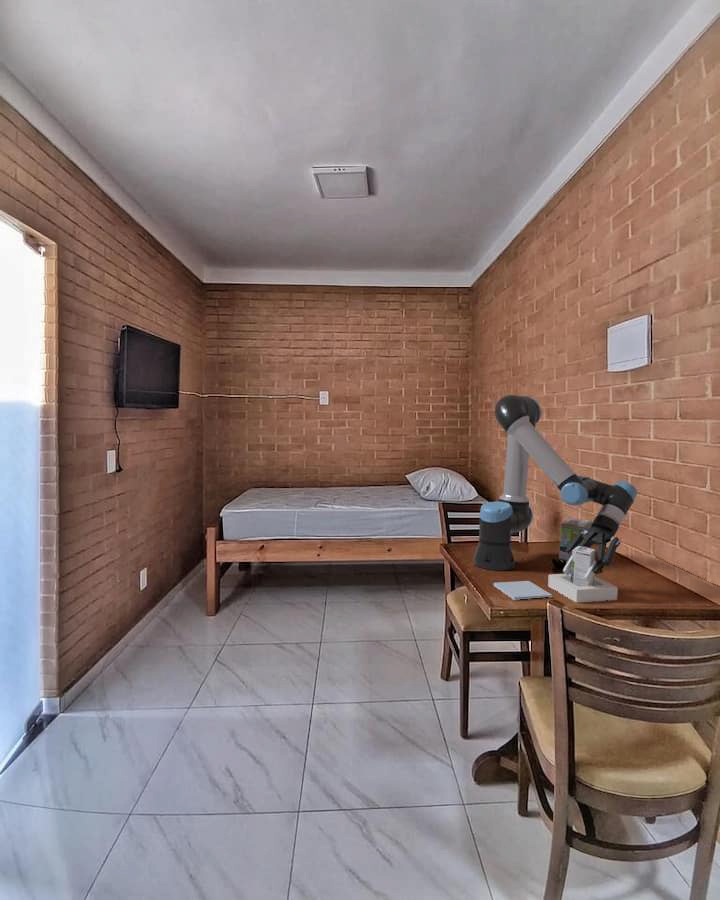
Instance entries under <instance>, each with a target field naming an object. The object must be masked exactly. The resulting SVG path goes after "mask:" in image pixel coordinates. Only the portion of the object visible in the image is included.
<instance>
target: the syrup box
mask: <svg viewBox="0 0 720 900" xmlns="http://www.w3.org/2000/svg"><path fill="white" fill-rule="evenodd" d="M596 551H597V550H596V549H595V548H591V547H590V548H587V547H581V546H578V547H576V548H575V549H573V550H572V564H571V572H570V573H571V578H570V582H571V583H573V584H575V585H577V586H579V587H581V586H593V581H594V576H595V575H594V576H593V578H592V580H591V581H590V583H589V582H587V581H586V579H585V578H584V577H585V575H586V573H587V571H588V570H589V568H590V566H591V564H592V563H593V561H596Z"/></svg>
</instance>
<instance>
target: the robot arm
mask: <svg viewBox="0 0 720 900" xmlns="http://www.w3.org/2000/svg"><path fill="white" fill-rule="evenodd" d="M494 417H495V419H496V421H497V423H498V424H499V425H500V426H501V428H502V429H503V430H504V431H505V432H506V434H507V439H506V440H507V442H506V456H505V467H504V479H503V480H504V481H503V493H502V494H501V495H500V496H499V497H498V501H487V502H485V503H483V504H482V505H481V507H480V512H479V531H478V532H479V533H478V534H479V535H478V536H479V538H478V544H477V547H476V550H475V552H474V555H473V561H472V562H473V564H474V566H477V567H479V568H482V569H485V570H491V571H510V570H513V569H514V568H515V562H516V561H515V557H514V554H513V550H512V546H511V541H512V534H514V533H515V534H516V533H520V532H522V531H524V530H526V529H527V528H528V527H529V526H530V525H531V523H532V522H533V517H534V513H533V510H532V508H531V507H530V499H529V497H527V487H528V486H527V485H528V483H527V482H528V472H529V471H528V470H529V462H530V461H529V460H530V457H531V458H532V459H533V461H534V462H535V463H536V464H537V465H538V466H539V468H540V469H541V470H542V471H543V472H544V473H545V475H546V476H547V477H548V478H549V479H550V481H552V483H553V484H554V485H555V487H557V489H558V490H559V491H560V498H561V500H562V501H563V502H564V503H565V504H567V505H570V506H581V505H583V504H586V503H590V502H593V503H595V504H599V505H600V506H601V508H600V509H599V510H598V513H597V515H596V516H595V518H594V520H592V526H591V528H590V529H588V530H587V531H583V530H582V529H579V531H578V534H577V536H576V537H575V538H574V540H573V541H572V542H571V544H570V545H569V546H568V548H567V549H566V551H567V553H568V555H569V557H568V558H567V560H565V563H566V564H565V566H564V567H563V569H562V572H563V574H566V575H567V576H568V575H569V573H571V564H572V550H573V549H575V548H576V547H578V546H581V547H587V548H588V547H589V546H590V547H592V546H593V545H597V554H596V555H597V556H596V558H595V561H593V563H592V564H591V566H590V568H589V570H588V571H587V573H586V575H585V577H584V578H585V579H586V581H587V582H589V583H590V581H591V580H592V578H593V576H595V575H597V574H598V573H599V571H600V570H601V568H602V567H603V566H606V567H610V565H611V563H612V561H613V558H614V555H615V553H616V550H617V548H618V547H619V546H620V545H621V540H620V539H619V537H618V536H615V535H616V533H617V532H618V530H619V529H620V526H621V525H622V523H623V521H624V519H625V518H626V515H627V514H628V511H630V509H631V507H632V505H633V504H634V503H635V499H636V497H637V495H638V490H637V489H636V487H635V486H634V484H631V483H630V482H627V481H621V480H620V481H617V482H616V483H615V484H613V485H612V484H608V483H605V482H602V481H599V480H596V479H593V478H590V477H588V476H584V475H583V476H582V475H577V474H576V473H575V471H574V470H573V469H572V468H571V467H570V465H569V464H568V463H567V462H566V461H565V460H564V459H563V458H562V456H561V455H560V454H559V453H558V452H557V451H556V450H555V449H554V448H553V447H552V445H551V444H550V443H549V442H548V441H547V440H546V438H545V437H543V435H542V433H540V432H539V431H538V430H537V429H536V425H537V423H539V421H540V419H541V417H542V408H541V406H540V404H539V402H538V401H537V400H536V399H534V398H533V397H530V396H527V395H514V394H508V395H503V396H502V397H501V398H499V399H498V400H497V402H496V404H495V406H494ZM586 535H588V536H586ZM614 536H615V537H614ZM583 539H584V540H583ZM607 543H609V545H608V547H607ZM606 549H607V550H606Z"/></svg>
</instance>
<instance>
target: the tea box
mask: <svg viewBox="0 0 720 900" xmlns="http://www.w3.org/2000/svg"><path fill="white" fill-rule="evenodd" d="M592 523H593V520H589V519H588V520H586V519H578V518H570V517H567V518H566V519H565V520H564V521H563V522H561V528H560V529H561V530H560V539H559V540H560V541H559V542H560V543H559V553H558V558H559V559H560V560H565V561H566V560H567V558H568V557H569V555H568V553H567V551H566V549H567V548H568V546H569V545H570V544H571V542H572V541H573V540H574V538H575V537H576V536H577V534H578V531H579V529H582V530H583V531H587V530H588V529H590V528H591V526H592ZM586 536H588V535H586ZM583 540H584V539H583ZM588 548H591V546H589V547H588ZM559 559H558V560H559Z"/></svg>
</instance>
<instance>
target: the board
mask: <svg viewBox="0 0 720 900" xmlns="http://www.w3.org/2000/svg"><path fill="white" fill-rule="evenodd" d="M493 586H494V587H495V588H496V589H497V590H499V591H500V590H501V591H500V592H502V593H503V594H505V595H506V596H507V595H508V597H509V598H510V597H511V598H510V599H512V600H513V601H521V600H520V599H528V600H532V599H531V598H540V597H549V598H548V599H552V598H553V595H552V594H551V593H550V592H548V591H546V590H545V589H543V588H541V587H540V586H538V585H537V584H535V583H533V582H531V581H530V580H521V581H517V580H516V581H505V582H503V581H502V582H501V581H499V582H493Z"/></svg>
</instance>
